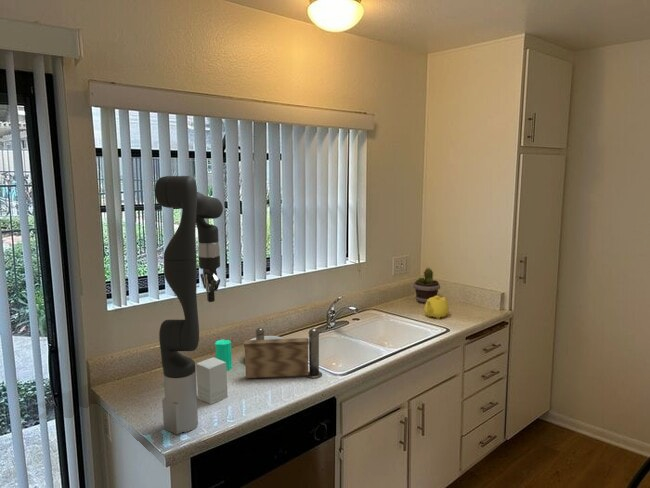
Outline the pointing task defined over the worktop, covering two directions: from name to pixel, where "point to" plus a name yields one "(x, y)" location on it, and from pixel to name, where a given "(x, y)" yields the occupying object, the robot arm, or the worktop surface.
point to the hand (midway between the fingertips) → (211, 301)
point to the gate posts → (313, 353)
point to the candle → (224, 352)
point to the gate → (276, 357)
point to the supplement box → (212, 380)
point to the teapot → (436, 307)
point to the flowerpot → (426, 287)
